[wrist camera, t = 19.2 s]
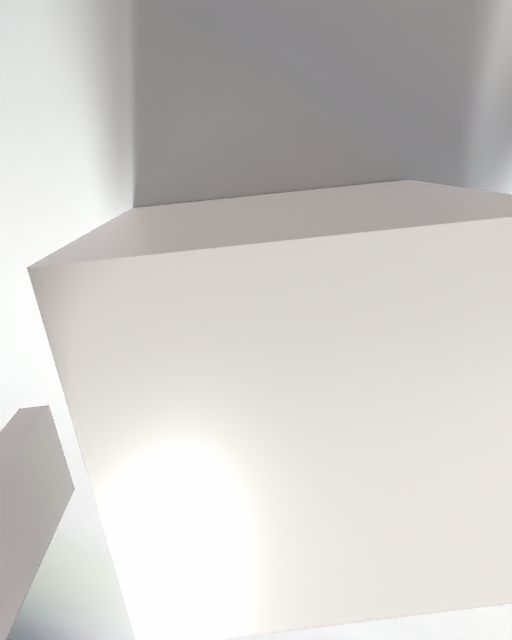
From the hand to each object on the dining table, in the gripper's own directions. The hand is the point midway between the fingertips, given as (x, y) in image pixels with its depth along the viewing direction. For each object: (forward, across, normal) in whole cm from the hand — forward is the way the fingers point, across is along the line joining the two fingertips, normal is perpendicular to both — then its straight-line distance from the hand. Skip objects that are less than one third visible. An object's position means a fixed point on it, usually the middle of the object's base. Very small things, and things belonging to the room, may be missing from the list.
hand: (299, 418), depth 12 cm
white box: (+6, 0, 0) cm, 6 cm away
